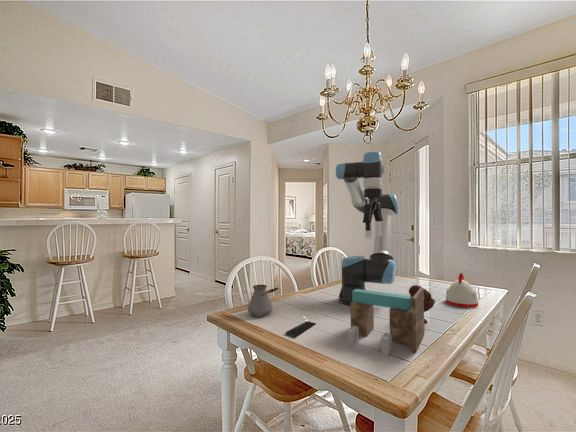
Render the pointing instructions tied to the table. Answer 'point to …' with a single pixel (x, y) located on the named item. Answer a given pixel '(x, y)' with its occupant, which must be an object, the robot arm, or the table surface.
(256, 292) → the coffee pot
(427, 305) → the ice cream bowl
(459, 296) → the white and red dome
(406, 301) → the teal rail
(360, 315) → the block
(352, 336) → the grey stand
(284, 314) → the table surface
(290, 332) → the phone
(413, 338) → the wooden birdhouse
